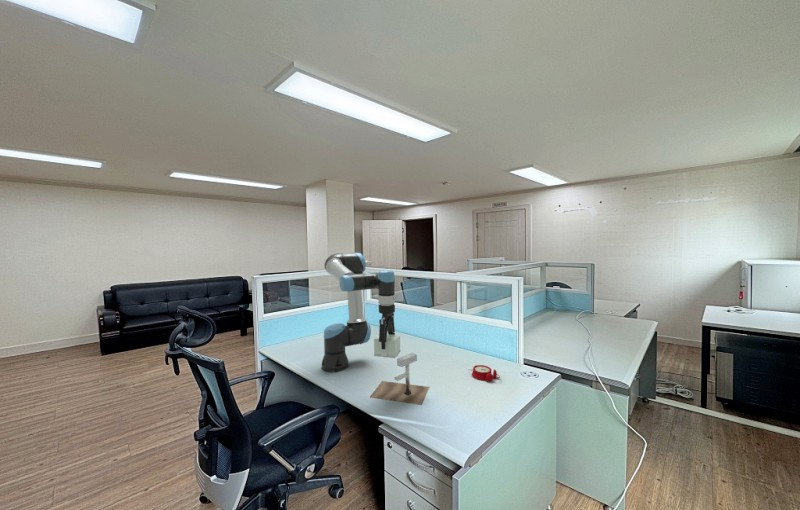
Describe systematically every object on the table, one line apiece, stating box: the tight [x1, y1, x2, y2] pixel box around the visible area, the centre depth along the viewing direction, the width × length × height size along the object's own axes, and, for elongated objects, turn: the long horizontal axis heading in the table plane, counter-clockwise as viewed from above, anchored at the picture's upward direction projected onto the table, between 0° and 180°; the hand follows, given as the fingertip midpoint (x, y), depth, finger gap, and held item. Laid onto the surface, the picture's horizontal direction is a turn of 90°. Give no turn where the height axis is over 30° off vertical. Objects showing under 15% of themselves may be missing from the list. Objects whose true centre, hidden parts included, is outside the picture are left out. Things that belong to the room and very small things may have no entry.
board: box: [369, 380, 430, 406], centre depth 140 cm, size 24×16×2 cm
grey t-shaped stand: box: [394, 352, 418, 392], centre depth 138 cm, size 12×3×16 cm, turn 135°
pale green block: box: [373, 333, 401, 359], centre depth 141 cm, size 10×8×8 cm
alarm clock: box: [468, 364, 501, 383], centre depth 156 cm, size 10×6×15 cm
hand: (387, 352), depth 141 cm, fingers closed on pale green block, 8 cm apart
